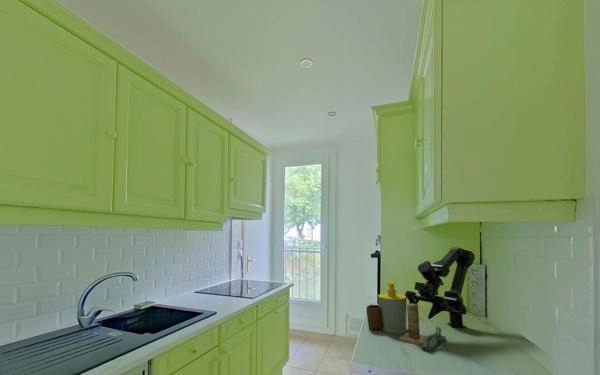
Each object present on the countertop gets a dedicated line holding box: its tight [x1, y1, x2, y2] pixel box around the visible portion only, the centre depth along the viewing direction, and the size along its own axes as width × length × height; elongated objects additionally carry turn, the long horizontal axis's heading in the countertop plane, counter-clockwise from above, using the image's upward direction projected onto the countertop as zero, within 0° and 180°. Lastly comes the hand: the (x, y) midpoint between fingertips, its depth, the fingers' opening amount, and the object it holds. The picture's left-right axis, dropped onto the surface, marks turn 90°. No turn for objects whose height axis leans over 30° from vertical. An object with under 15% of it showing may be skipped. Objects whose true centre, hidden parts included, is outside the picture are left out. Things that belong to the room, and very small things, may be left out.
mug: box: [365, 304, 383, 331], centre depth 147 cm, size 12×8×9 cm, turn 1°
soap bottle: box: [377, 281, 407, 334], centre depth 145 cm, size 13×13×21 cm
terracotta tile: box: [399, 332, 425, 346], centre depth 128 cm, size 9×9×1 cm
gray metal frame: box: [421, 326, 446, 353], centre depth 123 cm, size 19×3×4 cm, turn 139°
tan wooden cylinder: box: [406, 303, 421, 339], centre depth 129 cm, size 4×4×13 cm
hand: (418, 316), depth 132 cm, fingers open, 9 cm apart
